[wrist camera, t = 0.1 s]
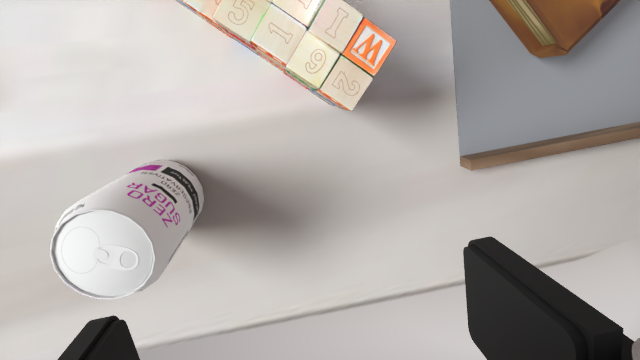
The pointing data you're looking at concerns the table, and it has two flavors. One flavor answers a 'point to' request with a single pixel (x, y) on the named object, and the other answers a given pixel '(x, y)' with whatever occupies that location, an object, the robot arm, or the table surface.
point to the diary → (552, 22)
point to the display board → (542, 87)
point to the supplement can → (126, 230)
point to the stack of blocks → (306, 41)
